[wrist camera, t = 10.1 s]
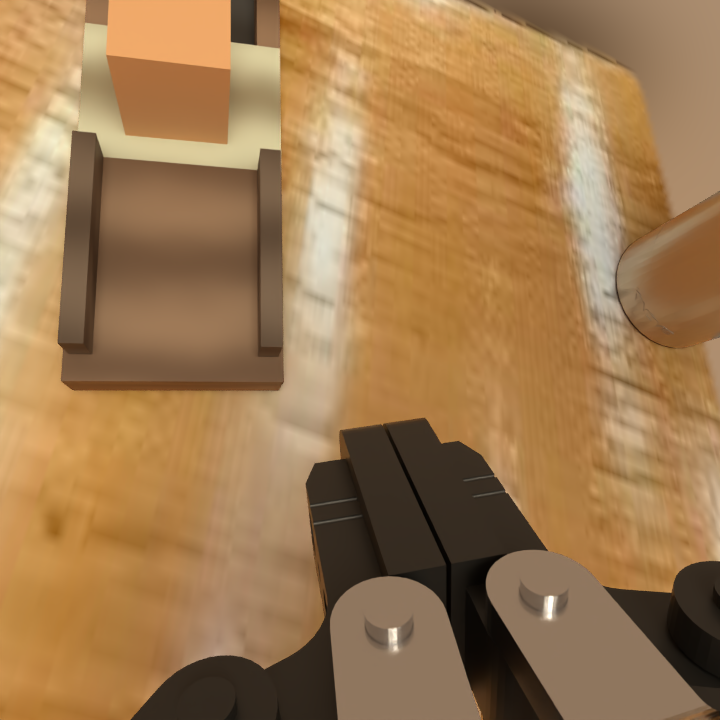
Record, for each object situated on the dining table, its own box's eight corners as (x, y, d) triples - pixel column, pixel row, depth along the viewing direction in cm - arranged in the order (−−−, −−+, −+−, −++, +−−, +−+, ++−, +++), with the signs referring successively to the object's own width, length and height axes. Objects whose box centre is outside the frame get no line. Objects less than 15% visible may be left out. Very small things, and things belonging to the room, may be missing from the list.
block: (227, 144, 38) (230, 69, 31) (125, 135, 36) (106, 54, 30) (227, 60, 39) (230, -29, 32) (129, 48, 38) (111, -48, 31)
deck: (278, 390, 38) (288, 373, 33) (73, 390, 35) (49, 371, 30) (274, -34, 45) (282, -104, 40) (101, -63, 42) (85, -142, 37)
